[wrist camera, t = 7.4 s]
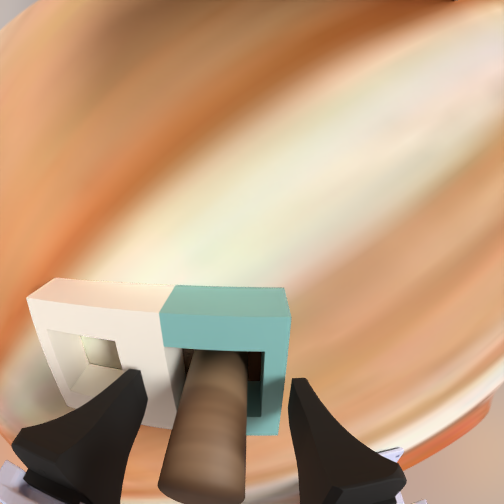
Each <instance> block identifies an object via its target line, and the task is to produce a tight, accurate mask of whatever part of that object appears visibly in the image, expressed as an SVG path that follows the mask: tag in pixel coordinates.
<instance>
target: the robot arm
mask: <svg viewBox="0 0 504 504" xmlns="http://www.w3.org/2000/svg"><path fill="white" fill-rule="evenodd" d="M147 402H148V397H147V393H146V389H145V386H144V382H143V378H142V374H141V370H136V369H128V370H127V371H126V372H125V373H123V374H122V375H121V376H120V377H119V378H118V379H116V380H115V381H114V382H113V383H112V384H111V385H109V386H108V387H107V388H106V389H104V390H103V391H102V392H101V393H99V394H98V395H97V396H95V397H94V398H93V399H91V400H90V401H89V402H87V403H86V404H84V405H82V406H81V407H79V408H77V409H76V410H74V411H72V412H70V413H68V414H66V415H64V416H61V417H59V418H57V419H55V420H52V421H49V422H46V423H43V424H40V425H36V426H31V427H27V428H22V429H21V431H20V432H19V434H18V435H17V437H16V438H15V440H14V441H13V443H12V449H13V451H14V452H15V454H16V455H17V456H18V457H19V458H20V460H21V461H22V462H23V463H24V464H25V465H26V466H27V468H28V470H27V472H25V471H24V470H22V469H21V468H20V467H18V466H16V465H14V464H13V463H11V462H10V461H8V460H6V461H5V462H4V464H3V466H2V467H1V469H0V502H1V503H2V504H120V498H121V491H122V484H123V479H124V474H125V469H126V465H127V461H128V457H129V453H130V450H131V448H132V445H133V443H134V440H135V438H136V435H137V433H138V430H139V428H140V425H141V423H142V420H143V417H144V414H145V411H146V406H147ZM288 415H289V426H290V431H291V436H292V441H293V446H294V451H295V456H296V460H297V467H298V477H299V491H300V504H404V501H403V498H402V495H401V492H400V491H401V489H403V487H404V486H405V484H406V481H407V480H406V477H405V475H404V473H403V471H402V469H401V467H400V466H399V464H398V463H397V461H398V460H399V458H400V457H401V455H402V454H403V452H404V449H403V448H398V449H394V450H390V451H385V452H381V453H376V452H375V451H373V450H371V449H370V448H368V447H367V446H366V445H364V444H363V443H361V442H360V441H358V440H357V439H356V438H355V437H354V436H352V435H351V434H350V433H349V432H348V431H347V430H346V429H345V428H344V427H342V426H341V425H340V423H339V422H338V421H337V420H336V419H335V418H334V417H333V416H332V415H331V413H330V412H329V411H328V410H327V409H326V407H325V406H324V405H323V403H322V402H321V401H320V399H319V398H318V396H317V395H316V393H315V392H314V390H313V389H312V387H311V386H310V384H309V382H308V380H307V379H306V378H292V383H291V390H290V397H289V404H288ZM412 504H428V503H427V501H426V499H422V500H420V501H417V502H414V503H412Z"/></svg>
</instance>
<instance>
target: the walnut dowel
mask: <svg viewBox="0 0 504 504" xmlns="http://www.w3.org/2000/svg"><path fill="white" fill-rule="evenodd" d="M247 381H248V351H222V350H202V349H195V350H194V353H193V357H192V360H191V364H190V367H189V371H188V374H187V378H186V381H185V385H184V388H183V392H182V395H181V399H180V402H179V406H178V410H177V413H176V417H175V420H174V424H173V428H172V431H171V435H170V439H169V443H168V446H167V450H166V454H165V458H164V462H163V466H162V469H161V473H160V477H159V481H158V488H159V489H160V491H161V492H162V493H163V494H165V495H166V496H168V497H169V498H171V499H173V500H175V501H178V502H181V503H184V504H240V503H242V502H243V501H244V499H245V473H246V426H247Z"/></svg>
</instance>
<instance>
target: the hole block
mask: <svg viewBox="0 0 504 504" xmlns="http://www.w3.org/2000/svg"><path fill="white" fill-rule="evenodd" d="M26 299H27V302H28V306H29V310H30V313H31V316H32V320H33V323H34V326H35V329H36V332H37V335H38V338H39V341H40V344H41V346H42V349H43V352H44V355H45V357H46V360H47V362H48V365H49V367H50V370H51V372H52V374H53V377H54V379H55V381H56V383H57V386H58V388H59V390H60V392H61V394H62V396H63V398H64V400H65V402H66V404H67V406H68V407H72V408H75V409H77V408H79V407H81V406H82V405H84V404H86V403H87V402H89V401H90V400H91V399H93V398H94V397H95V396H97V395H98V394H99V393H101V392H102V391H103V390H104V389H106V388H107V387H108V386H109V385H111V384H112V383H113V382H114V381H115V380H116V379H118V378H119V377H120V376H121V375H122V374H123V373H125V372H126V371H127V370H128V369H136V370H141V374H142V378H143V382H144V386H145V389H146V393H147V397H148V402H147V406H146V411H145V414H144V417H143V420H142V423H141V425H146V426H152V427H158V428H164V429H171V430H172V428H173V424H174V420H175V417H176V413H177V410H178V406H179V402H180V399H181V395H182V392H183V388H184V385H185V381H186V372H185V365H184V358H183V351H182V348H187V349H202V350H222V351H261V373H260V381H247V426H246V435H278V430H279V422H280V415H281V407H282V399H283V391H284V383H285V374H286V365H287V356H288V346H289V336H290V326H291V314H290V310H289V306H288V302H287V298H286V294H285V290H284V288H255V287H213V286H184V285H161V284H141V283H123V282H107V281H92V280H79V279H66V278H54V279H52V280H51V281H49V282H48V283H46V284H45V285H43V286H42V287H40V288H39V289H38V290H36V291H35V292H33V293H32V294H30V295H29V296H28V297H26ZM81 336H86V337H92V338H99V339H105V340H112V341H115V343H116V347H117V351H118V355H119V359H120V362H121V366H122V369H123V370H121V369H115V368H109V367H104V366H99V365H93V364H89V361H88V358H87V355H86V352H85V349H84V346H83V342H82V339H81Z"/></svg>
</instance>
